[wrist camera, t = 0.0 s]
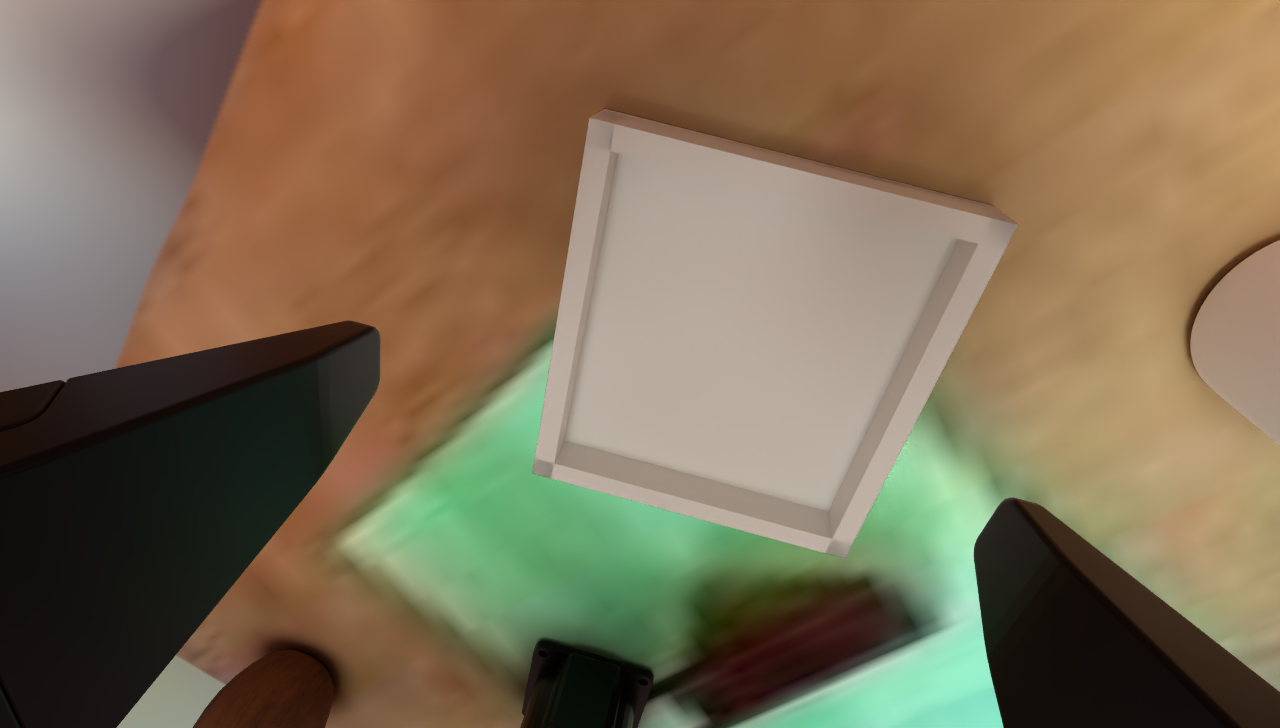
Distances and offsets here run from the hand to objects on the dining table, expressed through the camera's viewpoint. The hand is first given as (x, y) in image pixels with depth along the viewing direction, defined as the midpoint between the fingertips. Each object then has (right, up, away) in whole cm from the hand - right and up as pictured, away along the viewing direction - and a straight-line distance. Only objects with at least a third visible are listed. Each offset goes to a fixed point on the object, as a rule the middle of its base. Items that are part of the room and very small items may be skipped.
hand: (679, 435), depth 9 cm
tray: (+3, +2, +15) cm, 16 cm away
